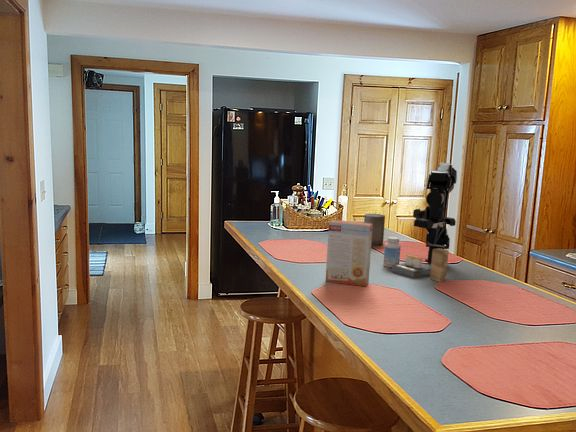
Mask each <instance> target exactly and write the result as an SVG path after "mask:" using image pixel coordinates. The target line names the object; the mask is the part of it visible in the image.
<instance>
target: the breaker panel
mask: <svg viewBox="0 0 576 432" xmlns="http://www.w3.org/2000/svg"><path fill="white" fill-rule="evenodd" d="M413 266H414V264H413V265H412V266H409V265H406V264H405V262H404V263H399V264H397V265H392V267H391V272H392V273H396V274H398V275H400V276H401V275H402V276H405V277H408V278H411V279H415V278H420V277H421V278H423V277H427V276H430V271H431V265H430V266H429V265H426V264H423V263H422V268H416V267H413Z"/></svg>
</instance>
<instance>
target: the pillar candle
mask: <svg viewBox="0 0 576 432" xmlns="http://www.w3.org/2000/svg"><path fill="white" fill-rule="evenodd" d="M363 218H364V219H363V223H372V224H373V225H372V241H371V246H380V245H379V244H382V245H384V238H385V237H384V236H385V223H386V222H385V221H386V215H385V214H381V213H376V212H374V213H365V214H364V217H363Z"/></svg>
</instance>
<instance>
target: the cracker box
mask: <svg viewBox="0 0 576 432" xmlns="http://www.w3.org/2000/svg"><path fill="white" fill-rule="evenodd" d="M372 225H373V224H372V223H364V222H360V221H350V220H338V219H332V220H330V221H329V223H328V238H327V250H326V251H327V252H326V264H325V265H326V269H325V282H328V283H329V282H331V283H337V284H343V285H345V284H346V285H352V286H358V287H366V286H367V285H368V284H369V281H370V280H369V279H370V267H371V266H370V265H371V253H372V251H371V250H372V245H371V241H372Z"/></svg>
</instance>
